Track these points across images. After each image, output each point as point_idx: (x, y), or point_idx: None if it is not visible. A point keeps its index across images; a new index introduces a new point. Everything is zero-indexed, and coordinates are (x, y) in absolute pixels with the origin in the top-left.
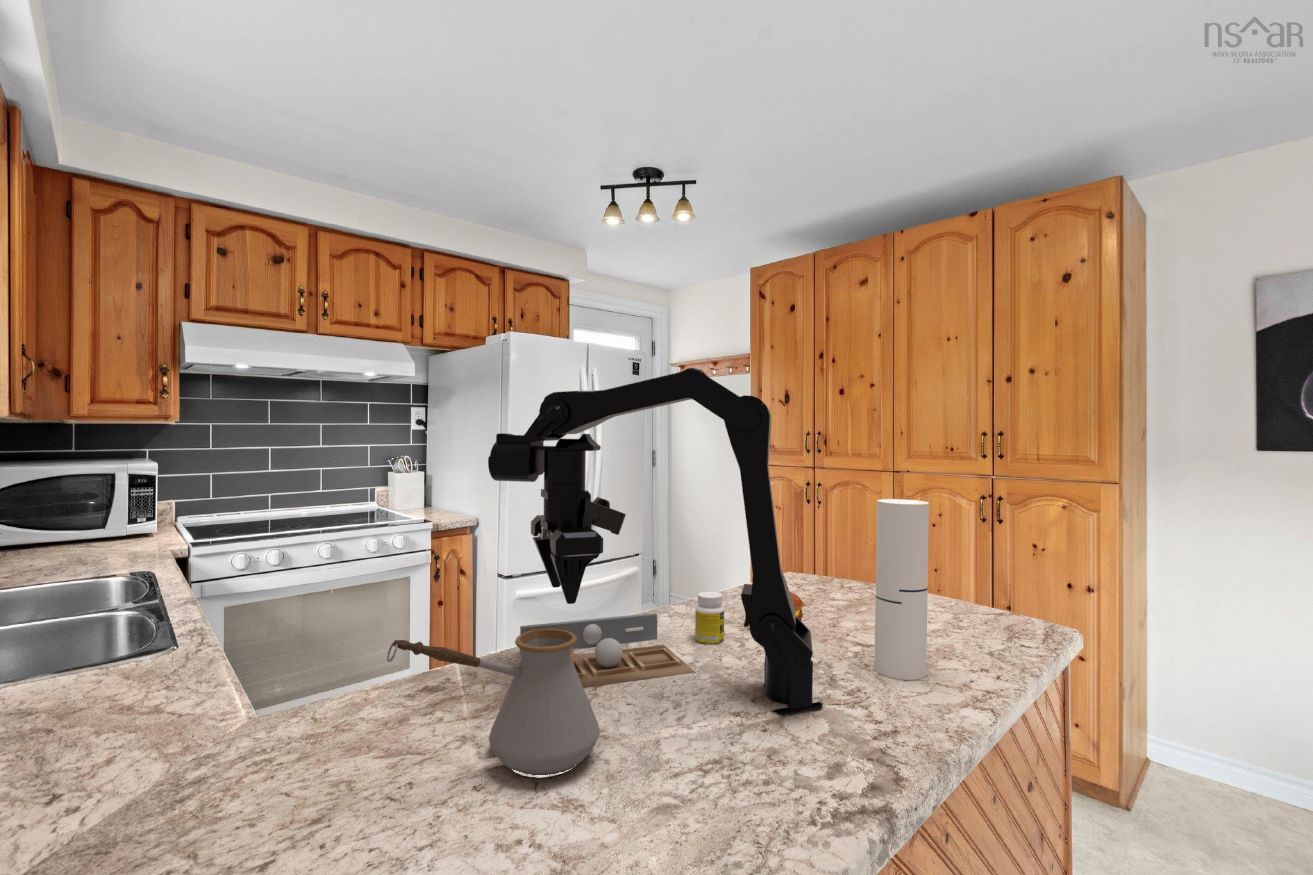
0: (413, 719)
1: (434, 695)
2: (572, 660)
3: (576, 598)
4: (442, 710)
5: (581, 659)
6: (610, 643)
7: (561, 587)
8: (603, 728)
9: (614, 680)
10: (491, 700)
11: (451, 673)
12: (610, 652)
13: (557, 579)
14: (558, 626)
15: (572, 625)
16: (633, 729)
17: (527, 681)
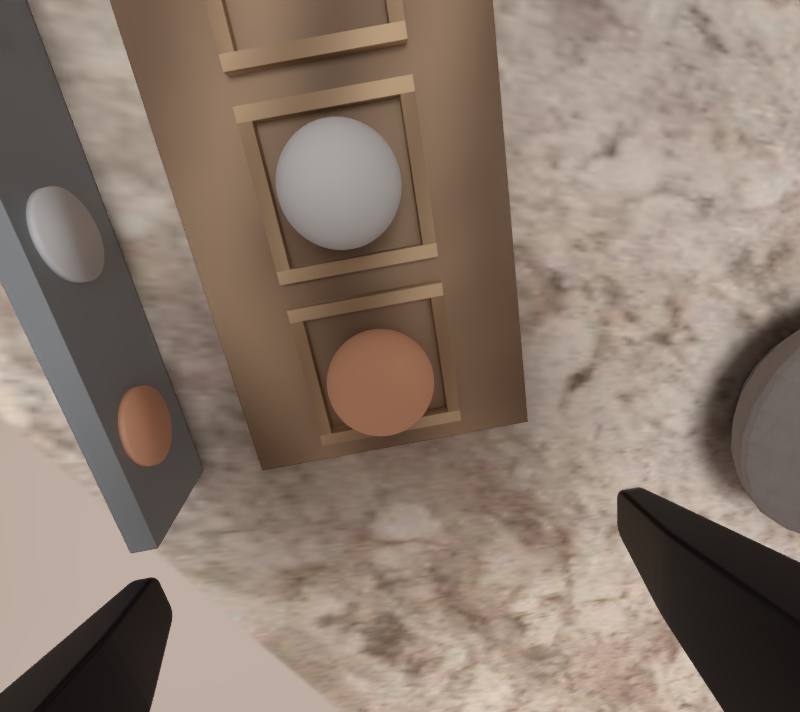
0: (539, 640)
1: (424, 628)
2: (414, 342)
3: (667, 500)
4: (510, 602)
5: (255, 285)
6: (374, 182)
7: (701, 667)
8: (734, 252)
9: (482, 181)
10: (482, 518)
11: (289, 619)
12: (400, 186)
13: (138, 645)
14: (101, 406)
15: (75, 343)
16: (775, 165)
17: None
